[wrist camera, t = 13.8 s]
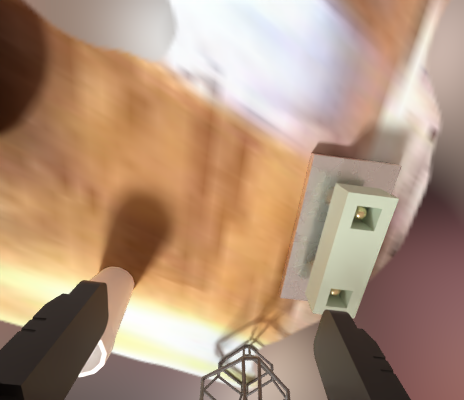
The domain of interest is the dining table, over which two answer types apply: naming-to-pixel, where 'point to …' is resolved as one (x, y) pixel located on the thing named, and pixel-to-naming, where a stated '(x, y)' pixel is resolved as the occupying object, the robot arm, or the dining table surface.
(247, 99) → the dining table surface
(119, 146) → the dining table surface
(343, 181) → the board with brass pegs
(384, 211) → the bar
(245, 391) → the geometric lantern
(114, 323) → the foam cup
